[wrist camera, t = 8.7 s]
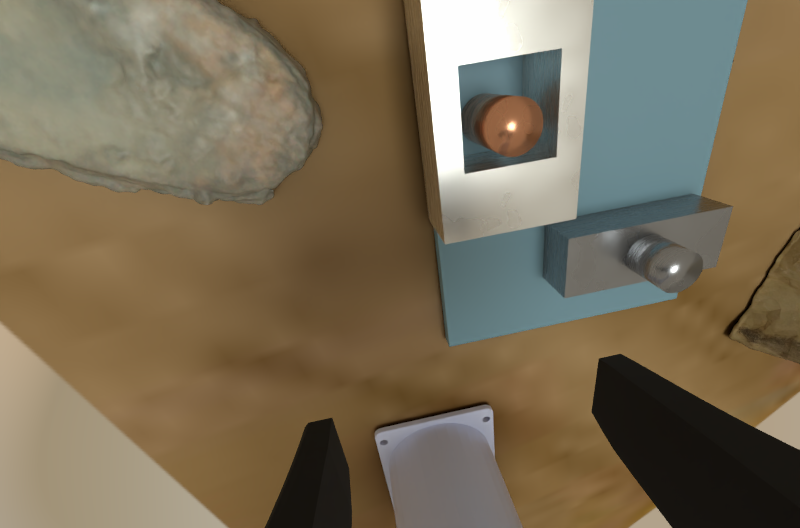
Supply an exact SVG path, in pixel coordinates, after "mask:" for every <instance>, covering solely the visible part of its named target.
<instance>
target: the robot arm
mask: <svg viewBox="0 0 800 528" xmlns="http://www.w3.org/2000/svg"><path fill="white" fill-rule="evenodd" d="M592 413H593V415H594V417H595V419H596V420H597V422H598V424H599V426H600V427H601V429H602V431H603V433H604V434H605V436H606V438H607V439H608V441H609V442H610V444H611V446H612V447H613V449H614V450H615V452H616V453H617V455H618V456H619V457H620V459H621V460H622V461H623V463H624V464H625V465H626V467H627V468H628V469H629V471H630V472H631V474H632V475H633V476H634V478H635V479H636V480H637V482H638V483H639V484H640V486H641V487H642V488H643V489H644V491H645V492H646V493H647V495H648V496H649V497H650V499H651V500H652V501H653V503H654V504H655V505H656V507H657V508H658V509H659V511H660V512H661V513H662V515H663V516H664V517H665V518H666V520H667V521H668V523H669V524H670V525H671V526H672V528H800V450H798V449H796V448H794V447H792V446H790V445H788V444H786V443H784V442H782V441H780V440H778V439H776V438H774V437H772V436H770V435H768V434H766V433H764V432H762V431H760V430H758V429H756V428H754V427H752V426H750V425H748V424H746V423H745V422H743V421H741V420H739V419H737V418H735V417H733V416H731V415H729V414H728V413H726V412H724V411H722V410H720V409H718V408H716V407H715V406H713V405H711V404H709V403H707V402H705V401H704V400H702V399H700V398H698V397H696V396H695V395H693V394H691V393H689V392H688V391H686V390H684V389H682V388H680V387H679V386H677V385H675V384H673V383H672V382H670V381H668V380H666V379H665V378H663V377H661V376H659V375H658V374H656V373H654V372H652V371H651V370H649V369H647V368H645V367H644V366H642V365H640V364H638V363H636V362H635V361H633V360H631V359H629V358H627V357H625V356H624V355H622V354H618V355H613V356H609V357H604V358H600V359H599V362H598V369H597V377H596V384H595V391H594V399H593V406H592ZM375 440H376V444H377V448H378V452H379V455H380V459H381V463H382V467H383V470H384V474H385V478H386V482H387V485H388V489H389V493H390V497H391V500H392V504H393V508H394V512H395V519H396V527H397V528H523V526H522V524H521V521H520V519H519V517H518V514H517V512H516V509H515V507H514V504H513V502H512V499H511V497H510V495H509V492H508V490H507V487H506V485H505V482H504V480H503V477H502V475H501V473H500V470H499V468H498V465H497V463H496V460H495V449H494V425H493V411H492V408H491V406H489V405H481V406H476V407H472V408H467V409H463V410H459V411H454V412H450V413H445V414H441V415H436V416H432V417H427V418H423V419H419V420H414V421H410V422H405V423H401V424H396V425H392V426H387V427H383V428H379V429H378V430H376V431H375ZM351 527H352V506H351V491H350V477H349V467H348V464H347V461H346V458H345V455H344V452H343V449H342V446H341V443H340V440H339V437H338V434H337V431H336V428H335V425H334V422H333V419H332V418H329V419H324V420H319V421H315V422H310V423H308V424H307V425H306V427H305V429H304V432H303V435H302V438H301V441H300V444H299V446H298V449H297V452H296V455H295V457H294V460H293V462H292V465H291V468H290V470H289V473H288V475H287V478H286V480H285V483H284V485H283V487H282V490H281V492H280V494H279V497H278V499H277V501H276V504H275V506H274V508H273V510H272V513H271V515H270V517H269V520H268V522H267V524H266V526H265V528H351Z"/></svg>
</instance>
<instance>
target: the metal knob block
mask: <svg viewBox="0 0 800 528" xmlns="http://www.w3.org/2000/svg"><path fill="white" fill-rule="evenodd" d="M732 208H733V206H730V205H727V204H724V203H721V202H718V201H715V200H711V199H708V198H705V197H702V196H699V195H696V194H688V195H683V196H678V197H673V198H668V199H662V200H657V201H652V202H647V203H642V204H637V205H632V206H627V207H621V208H616V209H611V210H606V211H601V212H596V213H591V214H586V215H581V216H577V217H576V219H573V220H568V221H563V222H558V223H552V224H547V225H545V228H544V254H543V278H544V279H545V280H546V281H547V282H548V283H549V284H550V285H551V286H552V287H553V288H554V289H555V290H556V291H557V292H558V293H559V294H560V295H561V296H562V297H564V298H569V297H574V296H579V295H583V294H588V293H593V292H598V291H602V290H607V289H612V288H617V287H621V286H626V285H631V284H636V283H641V282H645V281H649V282H650V283H652V284H653V285H655V286H656V287H658V288H660V289H661V290H663V291H664V292H667V293H677V292H680V291H683V290H685V289H686V288H688V287H689V286H691V285H692V284H693V283H694V282H695V281H696V280H697V278H698V277H699V275H700V274H701V272H702V270H703V269H707V268H712V267H716V264H717V261H718V257H719V254H720V250H721V247H722V243H723V240H724V236H725V233H726V229H727V226H728V222H729V219H730V215H731V212H732Z"/></svg>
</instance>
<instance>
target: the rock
mask: <svg viewBox="0 0 800 528" xmlns="http://www.w3.org/2000/svg"><path fill="white" fill-rule="evenodd" d="M729 338H730V339H732V340H735V341H737V342H739V343H742V344H744V345H745V346H747V347H748V348H750V349H753V350H757V351H761V352H764V353H767V354H770V355H773V356H776V357H780V358H783V359H786V360H791V361H793V362H796V363H799V364H800V230H799V231H797V232H796V233H795V234H794V236H793V237H792V239H791V241H790V242H789V243H788V245H787V246H786V247H785V249H784V250H783V252H782V253H781V254H780V255H779V257H778V258H777V260H776V263H775V264H774V265H773V267H772V268H771V269H770V271H769V274H768V276H767V278H766V280H765V281H764V283H763V284H762V286H761V287H760V288H759V289H758V290H757V292H756V294H755V295H754V297H753V299H752V304H751V305H750V307H749V309H748V310H747V311H746V312H745V313H744V315H742V316H741V318H740V319H739V321H738V323H737V324H736V325H735V326H734V327H733V329H732V332H731V333H730V335H729Z"/></svg>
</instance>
